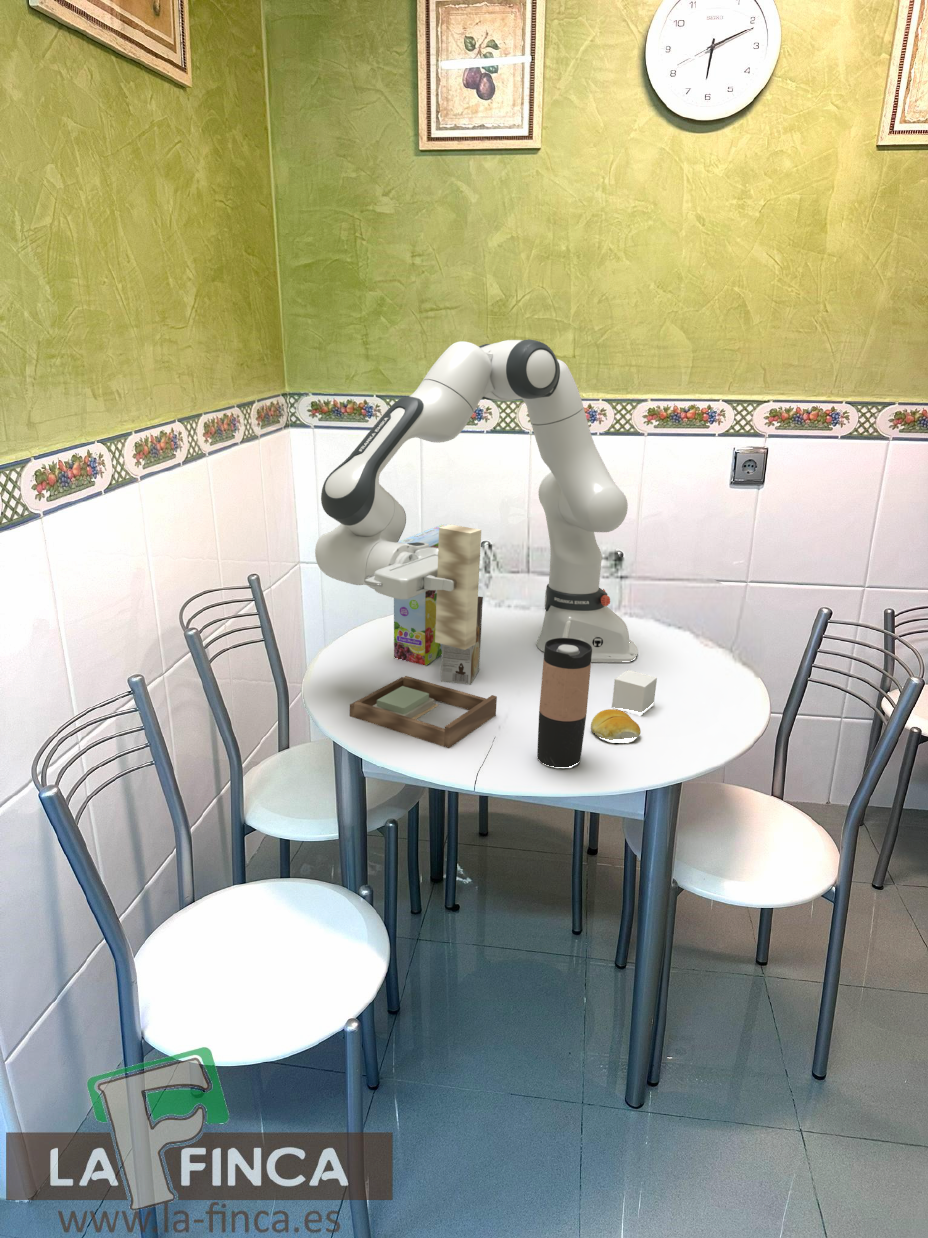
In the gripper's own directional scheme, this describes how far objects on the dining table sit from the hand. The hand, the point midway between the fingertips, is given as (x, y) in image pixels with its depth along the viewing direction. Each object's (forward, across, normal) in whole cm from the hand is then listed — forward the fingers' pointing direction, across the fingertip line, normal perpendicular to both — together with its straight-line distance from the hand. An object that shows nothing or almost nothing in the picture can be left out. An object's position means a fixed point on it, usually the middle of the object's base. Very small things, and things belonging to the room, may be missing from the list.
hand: (462, 582), depth 141 cm
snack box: (-25, +30, +27) cm, 48 cm away
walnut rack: (-7, 0, +27) cm, 27 cm away
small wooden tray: (-11, 0, +28) cm, 30 cm away
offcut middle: (-11, 0, +26) cm, 29 cm away
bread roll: (+24, +14, +27) cm, 39 cm away
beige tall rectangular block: (-1, 0, +11) cm, 11 cm away
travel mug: (+20, 0, +27) cm, 34 cm away
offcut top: (-12, 0, +25) cm, 28 cm away
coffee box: (-12, +20, +27) cm, 36 cm away
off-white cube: (+23, +27, +27) cm, 45 cm away
